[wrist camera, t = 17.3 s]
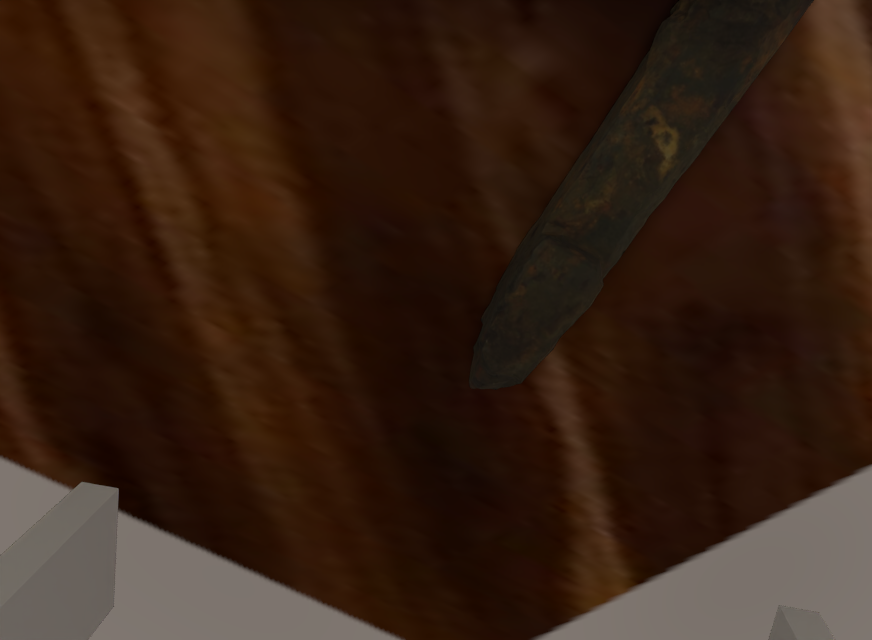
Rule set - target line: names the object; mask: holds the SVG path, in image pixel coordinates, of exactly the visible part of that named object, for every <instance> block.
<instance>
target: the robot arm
mask: <svg viewBox="0 0 872 640" xmlns="http://www.w3.org/2000/svg"><path fill="white" fill-rule="evenodd" d="M118 495H119V488H113V487H108V486H102V485H96V484H91V483H85V482H81V483H80V484H79V485H78V486H77V487H75V488H74V489H73V490H72V491H71V492H70V493H69V494H68V495H67V496H66V497H64V498H63V499H62V500H61V501H60V502H59V503H58V504H57V505H56V506H54V507H53V508H52V509H51V510H50V511H49V512H48V513H47V514H46V515H44V516H43V517H42V518H41V519H40V520H39V521H38V522H37V523H36V524H35V525H33V526H32V527H31V528H30V529H29V530H28V531H27V532H26V533H25V534H23V535H22V536H21V537H20V538H19V539H18V540H17V541H16V542H15V543H14V544H12V545H11V546H10V547H9V548H8V549H7V550H6V551H5V552H4V553H3V554H1V555H0V640H88V639H89V638H90V637H91V635H92V634H93V633H94V631H95V630H96V629H97V627H98V626H99V625H100V624H101V622H102V621H103V620H104V618H105V617H106V616H107V615H108V613H109V612H110V610H111V609H112V608H113V607H114V588H115V587H114V586H115V564H116V539H117V517H118ZM769 640H835V638H834V637H833V635H832V634H831V632H830V630H829V628H828V627H827V625H826V623H825V622H824V620H823V618H822V617H821V615H820V614H819V612H814V611H809V610H803V609H797V608H791V607H786V606H780V605H779V607H778V610H777V613H776V617H775V620H774V623H773V626H772V630H771V633H770V636H769Z"/></svg>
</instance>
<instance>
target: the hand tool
mask: <svg viewBox="0 0 872 640" xmlns="http://www.w3.org/2000/svg"><path fill="white" fill-rule="evenodd" d="M813 1H814V0H679V1H678V2H677V3H676V4H675V6H674V7H673V8H672V10H671V11H670V13H671V16H670V17H669V18H667V19H666V20H665V21H663V22H662V23H661V25H660V27H659V29H658V31H657V33H656V35H655V38H654V40H653V43H652V46H651V49H650V51H649V52H648V53H647V54H646V56H645V57H644V59H643V60H642V62H641V63H640V65H639V67H638V69H637V71H636V72H635V74H634V76H633V77H632V78H631V80H630V81H629V83H628V84H627V86H626V87H625V89H624V91H623V92H622V94H621V95H620V97H619V98H618V100H617V101H616V103H615V104H614V106H613V107H612V109H611V110H610V112H609V113H608V115H607V116H606V118H605V120H604V121H603V123H602V124H601V126H600V127H599V129H598V130H597V132H596V133H595V135H594V137H593V138H592V140H591V141H590V143H589V144H588V146H587V147H586V148H585V150H584V151H583V152H582V154H581V155H580V156H579V158H578V159H577V161H576V162H575V164H574V166H573V167H572V169H571V170H570V172H569V173H568V175H567V176H566V178H565V179H564V181H563V182H562V184H561V185H560V187H559V188H558V190H557V191H556V193H555V194H554V196H553V197H552V199H551V201H550V202H549V204H548V205H547V207H546V208H545V210H544V212H543V213H542V215H541V217H540V218H539V219H538V220H537V222H536V223H535V224H534V225H533V227H532V228H531V229H530V230H529V232H528V233H527V235H526V236H525V238H524V239H523V241H522V243H521V244H520V246H519V247H518V249H517V250H516V253H515V255H514V257H513V258H512V260H511V262H510V264H509V265H508V267H507V269H506V271H505V273H504V274H503V276H502V278H501V280H500V282H499V284H498V285H497V287H496V292H495V294H494V296H493V298H492V301H491V303H490V304H489V306H488V307H487V309H486V310H485V312H484V314H483V316H482V318H481V321H482V323H483V326H482V329H481V332H480V334H479V337H478V340H477V342H476V344H475V345H474V347H473V349H474V356H473V360H472V365H471V370H470V377H469V385H470V387H471V388H472V389H475V388H479V389H495V390H496V389H499V388H503V387H510V386H513V385H515V384H521V383H522V382H523V380H524V379H525V378H526V377H527V376H528V375H529V374H530V373H531V372H532V371H533V369H534V368H535V367H536V366H537V365H538V364H539V363H540V362H541V361H542V360H543V359H544V358H545V357H546V356H547V355H548V354H549V353H550V352H551V351H552V350H553V349H554V347H555V345H556V343H557V342H558V340H559V338H560V337H561V336H562V335H563V334H564V333H565V332H566V331H567V330H568V329H569V328H570V327H571V326H572V325H573V324H574V323H575V322H576V320H577V319H578V318H579V317H580V316H581V315H582V314H583V313H584V312H585V311H586V310H587V309H588V308H589V307H590V306H591V305H592V303H593V301H594V300H595V298H596V296H597V295H598V294H599V292H600V291H601V289H602V287H603V285H604V284H603V278H604V277H605V276H606V275H607V273H608V272H609V271H610V270H611V268H612V267H613V266H614V265H615V264H616V263H617V261H618V260H619V259H620V257H621V256H622V254H623V253H624V252H625V250H626V249H627V247H628V246H629V244H630V243H631V242H632V240H633V239H634V237H635V236H636V235H637V233H638V232H639V231H640V229H641V228H642V227H643V225H644V224H645V222H646V220H647V219H648V217H649V216H650V215H651V213H652V212H653V211H654V210H655V209H656V208H657V206H658V205H659V204H660V203H661V202H662V201H663V200H664V199H665V197H666V196H667V194H668V193H669V191H670V190H671V189H672V187H673V186H674V184H675V183H676V182H677V180H678V179H679V178H680V177H681V175H682V174H683V173H684V172H685V171H686V170H687V169H688V168H689V166H690V165H691V164H692V163H693V161H694V160H695V159H696V157H697V156H698V155H699V154H700V152H701V151H702V149H703V148H704V147H705V145H706V144H707V142H708V141H709V140H710V138H711V137H712V136H713V134H714V133H715V132H716V130H717V129H718V128H719V126H720V125H721V124H722V122H723V121H724V120H725V118H726V117H727V116H728V114H729V113H730V112H731V110H732V109H733V108H734V107H735V105H736V104H737V103H738V101H739V100H740V99H741V97H742V96H743V95H744V93H745V92H746V90H747V89H748V88H749V87H750V85H751V84H752V83H753V81H754V80H755V79H756V77H757V76H758V75H759V73H760V72H761V70H762V69H763V68H764V66H765V65H766V64H767V63H768V61H769V60H770V59H771V58H772V56H773V55H774V54H775V52H776V51H777V50H778V48H779V47H780V46H781V44H782V43H783V42H784V40H785V39H786V38H787V36H788V35H789V33H790V32H791V31H792V29H793V28H794V26H795V25H796V24H797V22H798V21H799V20H800V18H801V17H802V15H803V14H804V13H805V11H806V10H807V9H808V7H809V6H810V5H811V3H812V2H813Z"/></svg>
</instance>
